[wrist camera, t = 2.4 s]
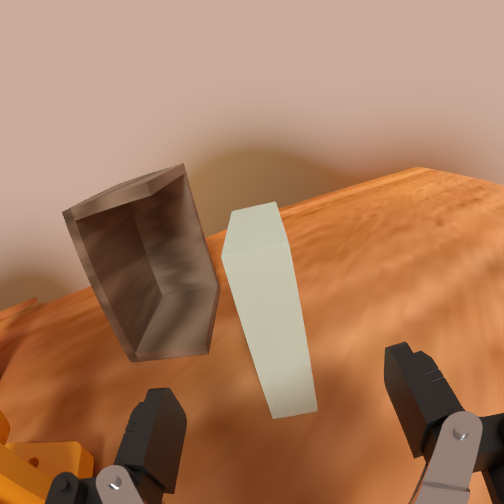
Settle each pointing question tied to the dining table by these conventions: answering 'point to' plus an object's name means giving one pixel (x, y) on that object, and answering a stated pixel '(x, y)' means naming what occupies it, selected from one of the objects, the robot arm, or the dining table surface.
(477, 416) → the robot arm
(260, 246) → the door
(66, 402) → the dining table surface
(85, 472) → the bracket
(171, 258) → the cabinet
